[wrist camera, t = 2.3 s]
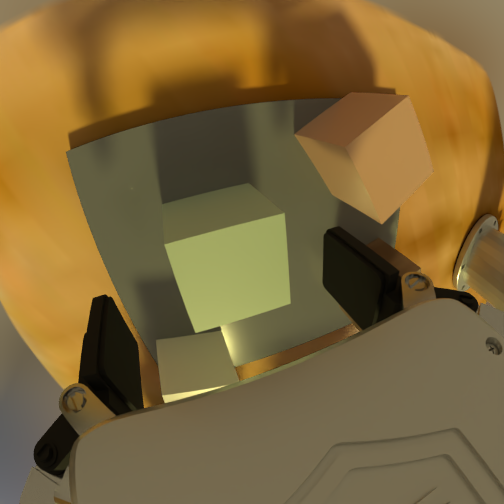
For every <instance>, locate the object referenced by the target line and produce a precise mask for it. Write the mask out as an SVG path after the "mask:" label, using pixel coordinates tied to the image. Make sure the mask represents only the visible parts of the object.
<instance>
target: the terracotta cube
mask: <svg viewBox="0 0 504 504" xmlns="http://www.w3.org/2000/svg"><path fill="white" fill-rule="evenodd" d="M294 135H295V137H296V138H297V140H298V141H299V143H300V144H301V146H302V147H303V149H304V150H305V152H306V153H307V155H308V156H309V158H310V159H311V161H312V163H313V164H314V166H315V167H316V169H317V171H318V172H319V174H320V175H321V177H322V179H323V180H324V182H325V184H326V185H327V187H328V189H329V190H330V192H331V194H332V195H333V196H335V197H337V198H339V199H340V200H342V201H344V202H345V203H347V204H349V205H351V206H352V207H354V208H356V209H357V210H359V211H361V212H362V213H364V214H366V215H367V216H369V217H371V218H372V219H374V220H375V221H377V222H379V223H380V224H383V223H384V222H385V221H386V220H387V219H388V218H389V217H390V216H391V215H392V214H393V213H394V212H395V211H396V210H397V209H398V208H399V207H400V206H401V205H402V204H403V203H404V202H405V201H406V200H407V199H408V198H409V197H410V196H411V195H412V194H413V193H414V192H415V191H416V190H417V189H418V188H419V187H420V186H421V185H422V184H423V182H424V181H425V180H426V179H427V178H428V177H429V176H430V175H431V174H432V173H433V172H434V170H433V166H432V163H431V159H430V156H429V152H428V149H427V145H426V142H425V139H424V136H423V133H422V130H421V127H420V124H419V121H418V118H417V116H416V113H415V110H414V108H413V105H412V103H411V100H410V98H409V96H407V95H396V94H382V93H356V92H350V93H349V94H348V95H346V96H345V97H343V98H342V99H341V100H339V101H338V102H336V103H335V104H334V105H332V106H331V107H329V108H328V109H327V110H325V111H324V112H323V113H321V114H320V115H319V116H317V117H316V118H315V119H313V120H312V121H311V122H309V123H308V124H307V125H305V126H304V127H303V128H302V129H300V130H299V131H298V132H296V133H295V134H294Z"/></svg>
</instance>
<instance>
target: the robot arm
mask: <svg viewBox="0 0 504 504" xmlns="http://www.w3.org/2000/svg"><path fill="white" fill-rule="evenodd" d="M322 283H323V286H324V288H325V289H326V290H327V291H328V293H329V294H330V295H331V296H332V297H333V298H334V299H335V300H336V301H337V302H338V304H339V305H340V306H341V307H342V308H343V309H344V310H345V311H346V312H347V314H348V315H349V316H350V317H351V318H352V319H353V320H354V321H355V322H356V324H357V325H358V326H359V327H360V328H361V329H362V331H360V332H358V333H356V334H354V335H352V336H350V337H348V338H346V339H344V340H342V341H339V342H337V343H335V344H333V345H331V346H328V347H326V348H324V349H322V350H319V351H317V352H315V353H312V354H310V355H308V356H305V357H303V358H301V359H298V360H296V361H293V362H291V363H288V364H286V365H283V366H281V367H278V368H275V369H273V370H270V371H267V372H265V373H262V374H259V375H256V376H254V377H251V378H248V379H245V380H242V381H239V382H236V383H233V384H230V385H227V386H224V387H221V388H217V389H214V390H211V391H207V392H204V393H201V394H197V395H193V396H190V397H186V398H182V399H179V400H175V401H171V402H167V403H164V404H160V405H156V406H151V407H147V408H144V405H143V397H142V387H141V377H140V365H139V350H138V345H137V342H136V340H135V338H134V336H133V335H132V333H131V331H130V330H129V328H128V326H127V324H126V323H125V321H124V319H123V317H122V315H121V313H120V312H119V310H118V308H117V306H116V304H115V302H114V300H113V298H112V297H108V296H107V295H101V296H98V297H95V298H93V300H92V305H91V310H90V316H89V321H88V327H87V333H85V335H84V339H83V346H82V353H81V361H80V371H79V381H78V383H75V384H72V385H70V386H68V387H67V388H66V389H65V390H64V391H63V392H62V394H61V396H60V399H59V408H60V410H61V412H62V414H61V415H60V416H59V418H58V419H57V420H56V421H55V422H54V423H53V424H52V426H51V427H50V428H49V429H48V430H47V432H46V433H45V434H44V435H43V436H42V438H41V439H40V440H39V441H38V442H37V444H36V446H35V449H34V460H35V462H36V464H37V465H36V467H35V468H34V467H32V468H31V471H30V474H29V476H28V478H27V481H26V484H25V486H24V489H23V492H22V495H21V498H20V503H19V504H504V234H503V233H501V232H500V231H498V222H497V219H496V218H495V217H494V216H493V215H491V214H486V215H484V216H483V217H481V218H480V219H479V220H478V222H477V223H476V224H475V226H474V227H473V228H472V230H471V232H470V233H469V235H468V237H467V239H466V241H465V243H464V245H463V247H462V249H461V251H460V254H459V257H458V259H457V262H456V265H455V269H454V274H453V285H454V287H455V288H456V289H457V290H458V291H457V290H450V289H443V288H437V287H434V286H433V283H432V280H431V279H430V278H429V277H428V276H426V275H425V274H422V273H420V272H408V273H406V274H404V275H403V276H402V277H401V276H399V270H398V269H397V268H395V267H394V266H393V265H391V264H390V263H389V262H388V261H386V260H385V259H384V258H382V257H381V256H380V255H378V254H377V253H376V252H374V251H373V250H372V249H370V248H369V247H368V246H366V245H365V244H364V243H362V242H361V241H360V240H358V239H357V238H355V237H354V236H353V235H351V234H350V233H348V232H347V231H346V230H344V229H343V228H341V227H340V226H337V227H333V228H330V229H327V231H326V233H325V234H324V236H323V278H322ZM470 287H471V288H472V289H473V290H475V291H476V292H477V293H478V294H479V295H481V296H482V297H483V298H484V299H485V300H487V301H488V302H489V303H490V304H491V305H493V306H494V307H495V308H496V309H495V308H493V307H490V306H488V305H485V304H483V303H481V304H480V306H479V305H478V302H477V300H476V299H475V297H473V296H472V295H471V294H470V293H467V292H463V291H466V290H468V289H469V288H470Z"/></svg>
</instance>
